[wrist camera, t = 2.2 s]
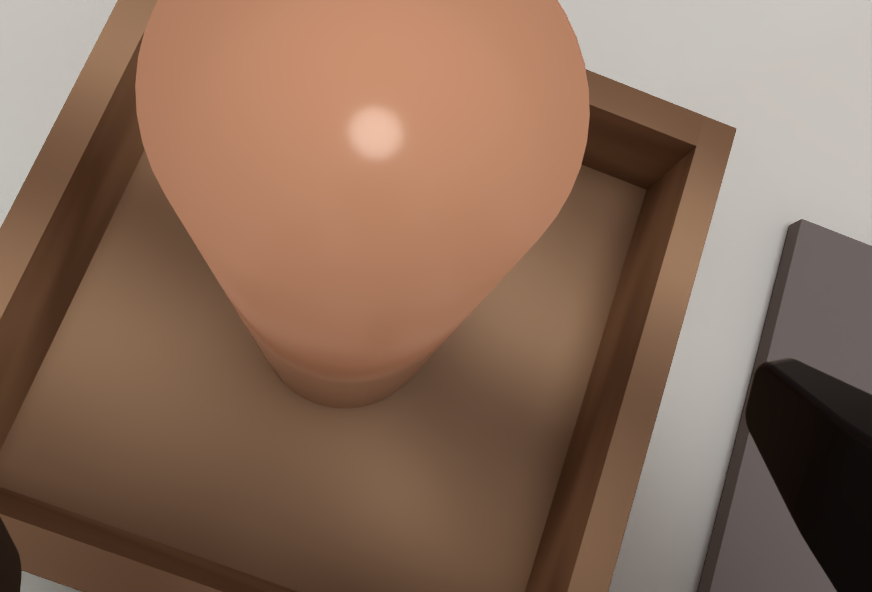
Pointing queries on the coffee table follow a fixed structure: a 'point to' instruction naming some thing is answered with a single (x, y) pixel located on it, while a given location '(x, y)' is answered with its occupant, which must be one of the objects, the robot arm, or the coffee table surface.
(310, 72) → the tan cylinder
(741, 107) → the coffee table surface
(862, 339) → the mat
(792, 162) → the coffee table surface
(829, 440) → the robot arm
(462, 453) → the crate
